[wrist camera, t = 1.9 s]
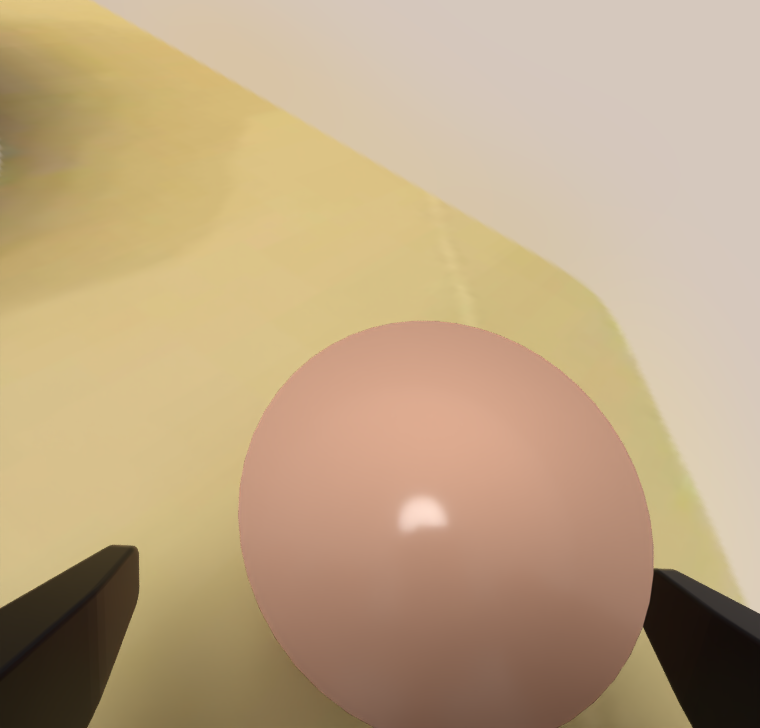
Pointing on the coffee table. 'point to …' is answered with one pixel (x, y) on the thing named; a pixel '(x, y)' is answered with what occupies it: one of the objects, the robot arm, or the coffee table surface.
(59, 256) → the coffee table surface
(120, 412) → the coffee table surface
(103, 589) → the robot arm
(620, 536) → the pink rounded cylinder
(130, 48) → the coffee table surface
